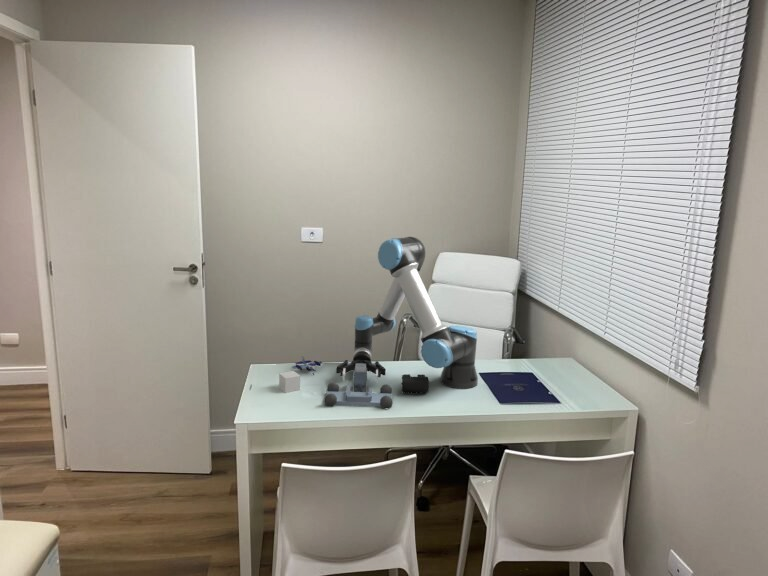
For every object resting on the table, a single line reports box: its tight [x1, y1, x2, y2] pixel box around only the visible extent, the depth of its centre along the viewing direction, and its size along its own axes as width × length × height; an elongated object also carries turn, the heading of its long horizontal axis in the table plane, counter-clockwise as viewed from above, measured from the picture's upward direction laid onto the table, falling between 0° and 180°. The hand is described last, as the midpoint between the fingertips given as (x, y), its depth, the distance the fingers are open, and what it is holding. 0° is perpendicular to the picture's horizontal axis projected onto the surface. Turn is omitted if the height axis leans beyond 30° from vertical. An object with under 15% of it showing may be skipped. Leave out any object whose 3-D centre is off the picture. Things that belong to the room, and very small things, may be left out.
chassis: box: [323, 382, 393, 409], centre depth 212 cm, size 24×12×4 cm, turn 90°
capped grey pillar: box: [352, 363, 368, 393], centre depth 222 cm, size 5×5×10 cm
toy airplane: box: [291, 355, 323, 376], centre depth 239 cm, size 13×14×4 cm
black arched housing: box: [400, 374, 430, 394], centre depth 221 cm, size 10×7×7 cm
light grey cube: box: [278, 370, 301, 394], centre depth 220 cm, size 6×6×6 cm
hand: (360, 378), depth 218 cm, fingers open, 12 cm apart
